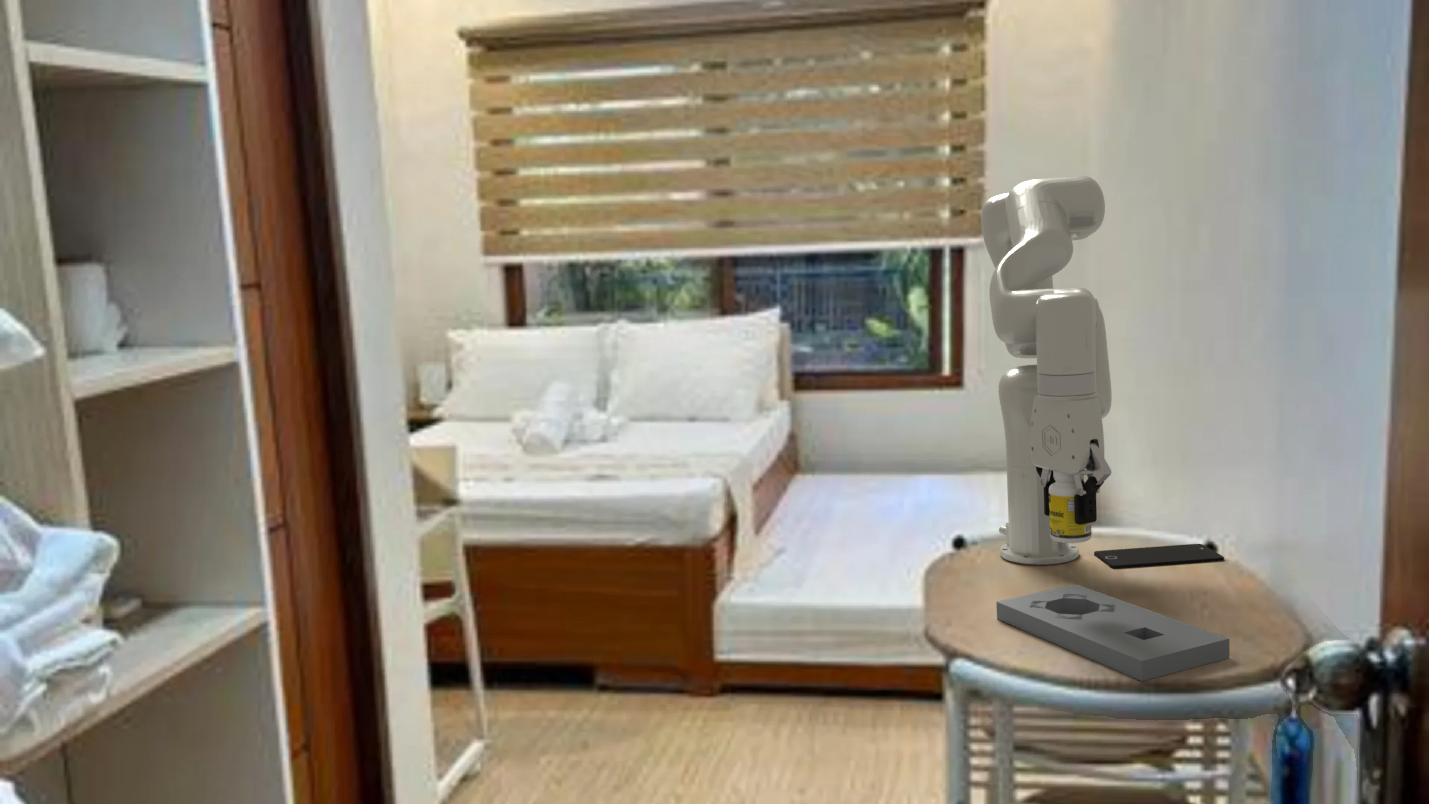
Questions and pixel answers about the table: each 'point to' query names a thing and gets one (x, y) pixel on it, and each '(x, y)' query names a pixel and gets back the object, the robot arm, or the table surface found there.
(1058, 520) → the supplement bottle
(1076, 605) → the socket plate
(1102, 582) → the table surface
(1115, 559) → the cell phone
